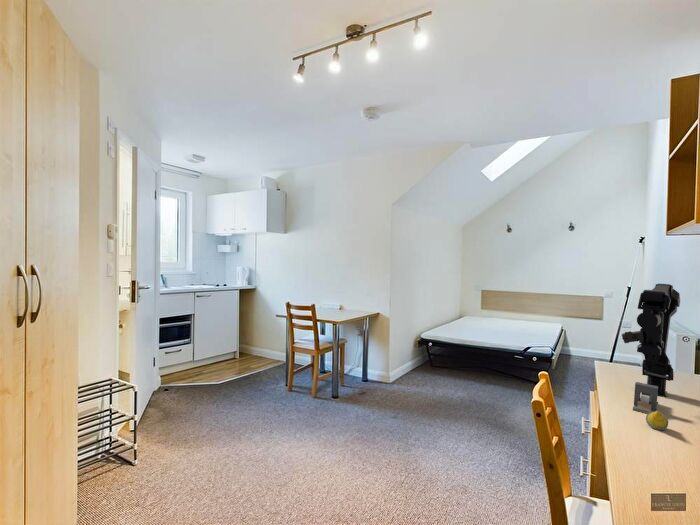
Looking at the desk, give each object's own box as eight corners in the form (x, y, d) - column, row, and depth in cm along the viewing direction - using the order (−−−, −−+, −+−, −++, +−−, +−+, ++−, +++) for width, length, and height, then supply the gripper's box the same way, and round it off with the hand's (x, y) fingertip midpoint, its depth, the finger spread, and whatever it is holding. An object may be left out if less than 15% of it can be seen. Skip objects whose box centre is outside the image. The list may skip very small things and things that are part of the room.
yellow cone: (671, 431, 117) (675, 416, 111) (653, 436, 118) (655, 422, 112) (659, 414, 121) (661, 400, 115) (641, 419, 122) (642, 405, 116)
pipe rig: (637, 399, 141) (638, 384, 141) (658, 404, 137) (659, 388, 137) (632, 410, 131) (633, 394, 130) (655, 415, 127) (656, 399, 126)
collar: (634, 402, 135) (636, 381, 134) (656, 407, 131) (658, 386, 130) (633, 405, 132) (635, 383, 132) (655, 410, 128) (657, 388, 128)
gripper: (627, 319, 148) (624, 359, 148) (620, 325, 134) (617, 369, 135) (665, 324, 140) (662, 366, 141) (661, 331, 127) (658, 377, 127)
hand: (649, 369), depth 136 cm, fingers closed
